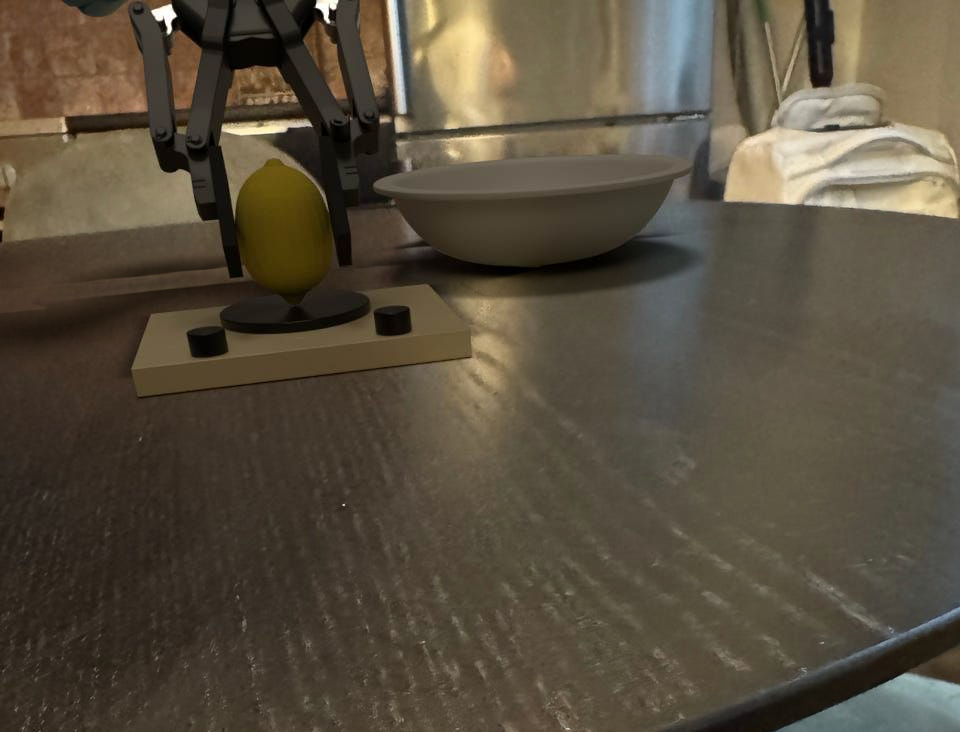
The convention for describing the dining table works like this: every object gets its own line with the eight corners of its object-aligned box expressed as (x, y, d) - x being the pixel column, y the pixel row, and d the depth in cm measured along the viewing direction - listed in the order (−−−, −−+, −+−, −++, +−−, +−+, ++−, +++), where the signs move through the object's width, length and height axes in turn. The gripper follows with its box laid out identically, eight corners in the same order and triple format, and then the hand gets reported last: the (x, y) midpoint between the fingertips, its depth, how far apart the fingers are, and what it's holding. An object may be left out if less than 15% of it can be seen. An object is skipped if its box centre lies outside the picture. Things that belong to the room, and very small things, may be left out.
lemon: (279, 320, 56) (254, 165, 52) (231, 308, 60) (205, 162, 56) (359, 301, 59) (341, 153, 55) (309, 290, 63) (289, 151, 59)
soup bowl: (688, 291, 65) (692, 182, 62) (343, 300, 70) (330, 199, 67) (690, 232, 86) (694, 147, 82) (422, 242, 90) (415, 162, 87)
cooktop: (156, 337, 64) (146, 294, 62) (429, 306, 66) (426, 264, 65) (137, 397, 52) (125, 345, 50) (472, 356, 55) (468, 306, 53)
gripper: (56, -123, 55) (98, 227, 50) (382, -138, 58) (458, 192, 52) (93, -3, 62) (134, 315, 57) (382, -22, 65) (448, 280, 59)
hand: (289, 255), depth 54 cm, fingers closed on lemon, 5 cm apart
